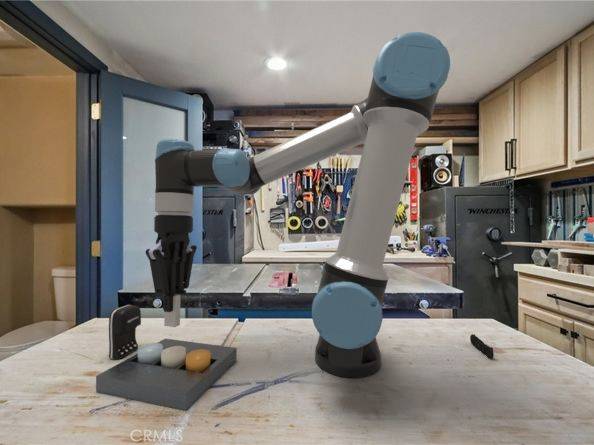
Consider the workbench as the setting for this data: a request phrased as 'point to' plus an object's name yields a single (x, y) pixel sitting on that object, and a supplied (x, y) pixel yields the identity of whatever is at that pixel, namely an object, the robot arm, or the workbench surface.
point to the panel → (166, 377)
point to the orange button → (198, 360)
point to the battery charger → (123, 331)
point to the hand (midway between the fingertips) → (172, 325)
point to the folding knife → (482, 346)
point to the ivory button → (173, 357)
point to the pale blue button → (150, 353)
